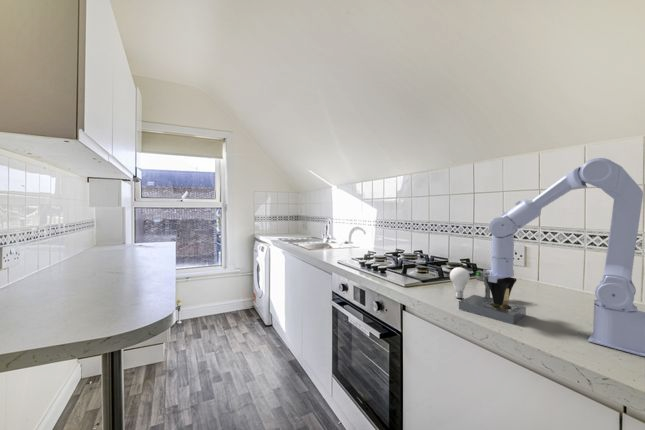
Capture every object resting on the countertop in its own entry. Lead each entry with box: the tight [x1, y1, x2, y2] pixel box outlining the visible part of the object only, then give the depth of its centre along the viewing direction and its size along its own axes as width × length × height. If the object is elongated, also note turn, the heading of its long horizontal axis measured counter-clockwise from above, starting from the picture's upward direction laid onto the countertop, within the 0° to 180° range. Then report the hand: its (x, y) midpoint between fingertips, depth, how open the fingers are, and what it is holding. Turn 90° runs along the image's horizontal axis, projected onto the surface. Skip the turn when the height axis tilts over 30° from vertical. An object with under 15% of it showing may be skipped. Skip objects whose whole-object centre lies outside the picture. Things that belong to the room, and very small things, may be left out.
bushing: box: [493, 287, 510, 309], centre depth 87 cm, size 4×4×6 cm
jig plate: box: [458, 294, 527, 325], centre depth 89 cm, size 15×11×2 cm
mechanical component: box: [475, 268, 491, 299], centre depth 103 cm, size 3×10×10 cm, turn 111°
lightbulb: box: [449, 266, 471, 300], centre depth 102 cm, size 6×6×11 cm
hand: (500, 302), depth 87 cm, fingers closed on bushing, 4 cm apart
